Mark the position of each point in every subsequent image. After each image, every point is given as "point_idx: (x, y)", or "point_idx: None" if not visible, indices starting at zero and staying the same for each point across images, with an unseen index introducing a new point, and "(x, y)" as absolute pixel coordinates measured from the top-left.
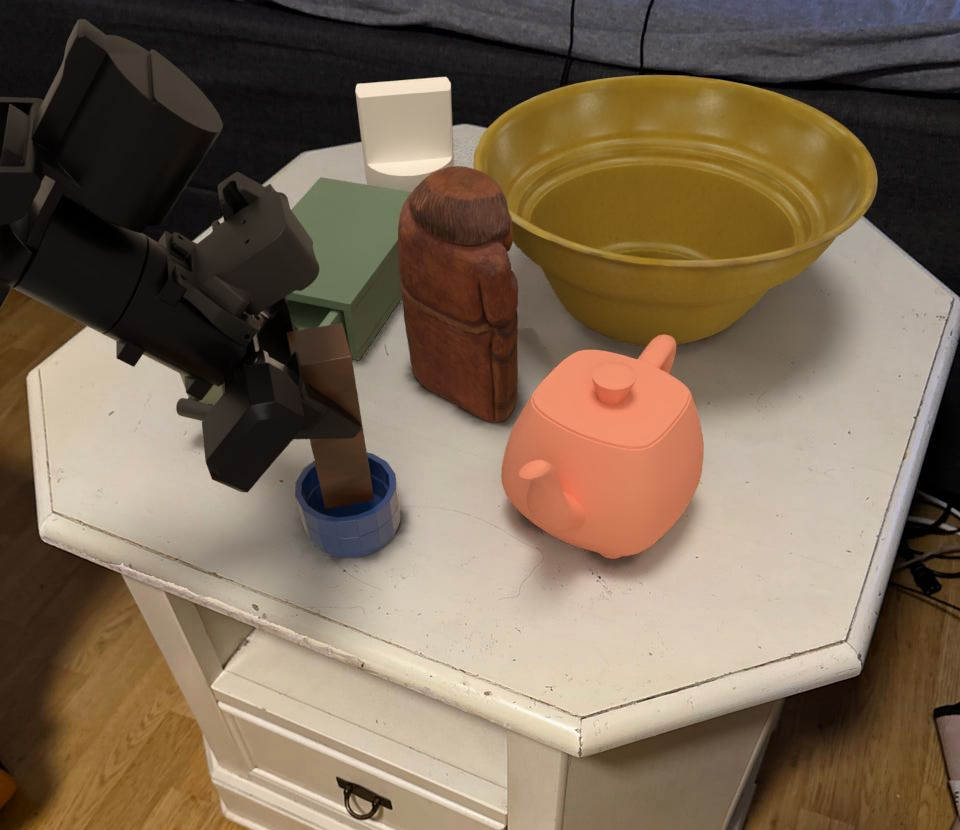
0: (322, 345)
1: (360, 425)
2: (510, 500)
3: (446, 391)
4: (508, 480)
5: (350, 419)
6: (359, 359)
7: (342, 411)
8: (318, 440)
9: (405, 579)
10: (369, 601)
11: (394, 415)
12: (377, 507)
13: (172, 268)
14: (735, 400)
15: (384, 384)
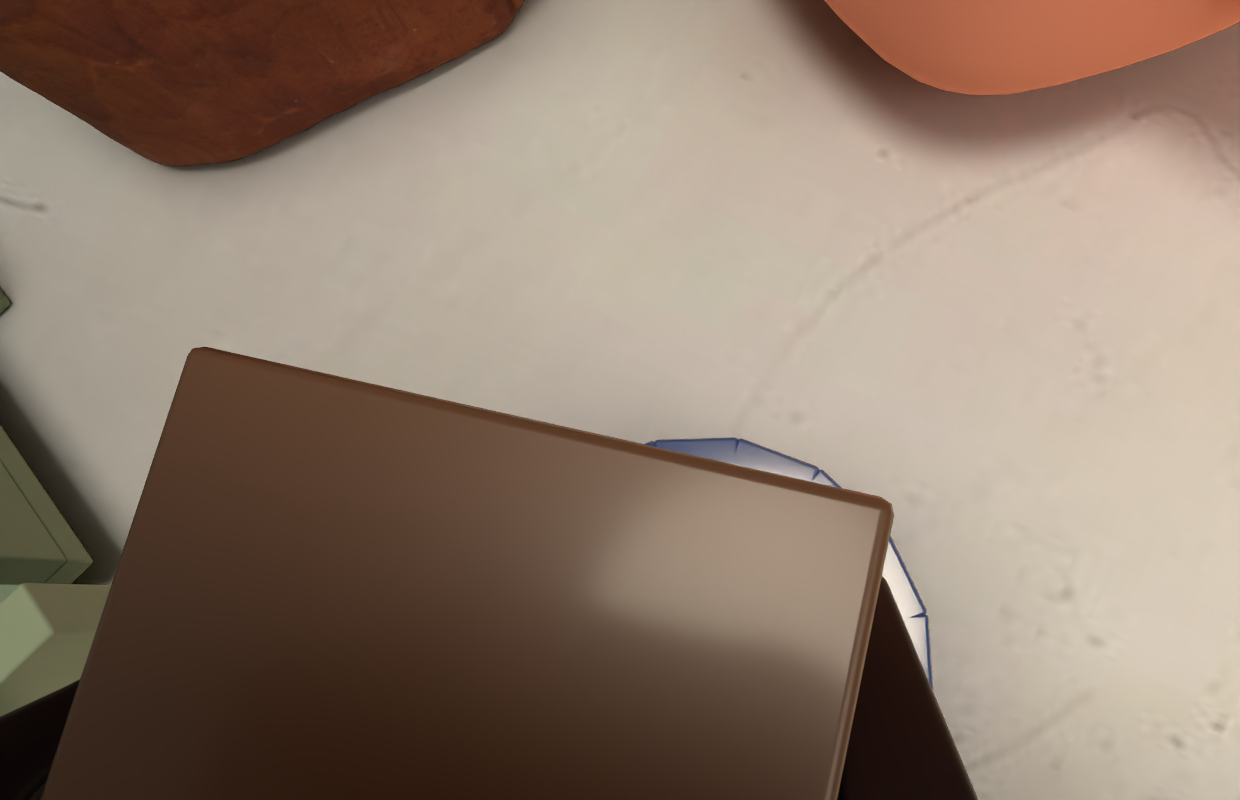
0: (459, 763)
1: (881, 582)
2: (1025, 89)
3: (327, 95)
4: (1031, 38)
5: (908, 658)
6: (7, 300)
7: (891, 713)
8: None
9: (1076, 590)
10: (1127, 761)
11: (306, 299)
12: (898, 590)
13: None
14: None
15: (157, 271)
